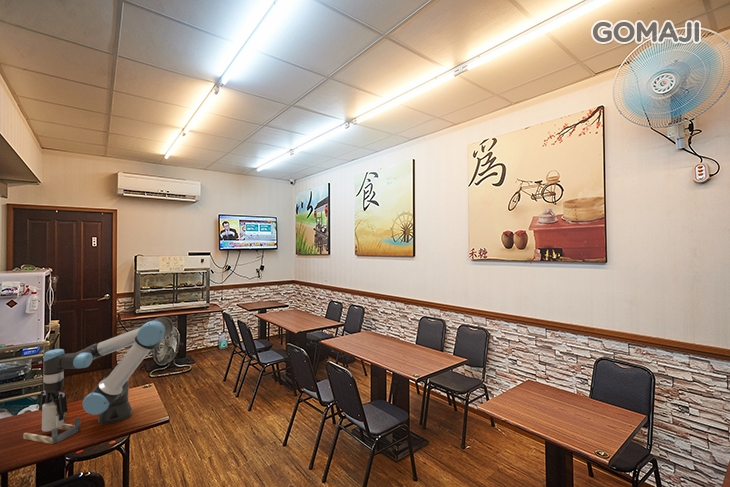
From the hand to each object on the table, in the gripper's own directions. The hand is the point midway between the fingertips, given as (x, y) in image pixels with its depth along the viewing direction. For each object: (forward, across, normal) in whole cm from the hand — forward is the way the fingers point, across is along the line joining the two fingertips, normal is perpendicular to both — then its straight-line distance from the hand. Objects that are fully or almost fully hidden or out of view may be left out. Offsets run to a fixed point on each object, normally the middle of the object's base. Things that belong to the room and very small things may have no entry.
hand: (52, 425), depth 169 cm
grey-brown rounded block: (+5, +14, -11) cm, 18 cm away
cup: (+1, 0, 0) cm, 1 cm away
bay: (+5, 0, 0) cm, 5 cm away
